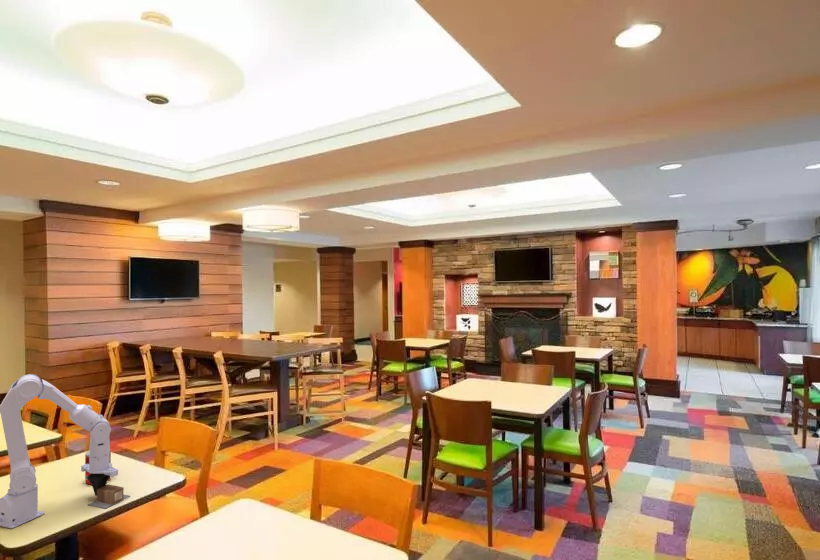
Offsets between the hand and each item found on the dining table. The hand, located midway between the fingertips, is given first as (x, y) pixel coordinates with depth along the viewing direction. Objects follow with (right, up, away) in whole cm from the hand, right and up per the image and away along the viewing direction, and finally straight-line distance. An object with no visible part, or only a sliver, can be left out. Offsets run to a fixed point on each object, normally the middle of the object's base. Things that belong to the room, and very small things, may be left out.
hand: (99, 494), depth 157 cm
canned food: (-10, -2, +14) cm, 17 cm away
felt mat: (+4, -1, -1) cm, 5 cm away
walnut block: (+1, +1, -1) cm, 2 cm away
